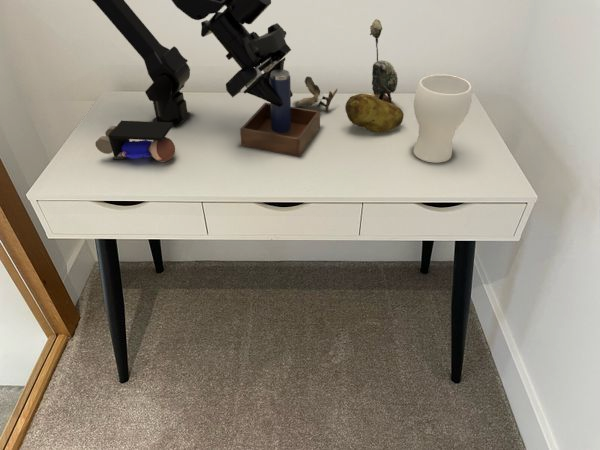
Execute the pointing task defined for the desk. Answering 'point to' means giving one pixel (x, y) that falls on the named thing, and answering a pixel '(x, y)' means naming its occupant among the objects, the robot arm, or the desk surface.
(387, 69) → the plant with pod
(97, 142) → the figurine character
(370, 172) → the desk surface
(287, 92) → the can
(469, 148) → the desk surface
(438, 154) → the cup
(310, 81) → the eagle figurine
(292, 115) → the desk bin
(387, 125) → the potato
